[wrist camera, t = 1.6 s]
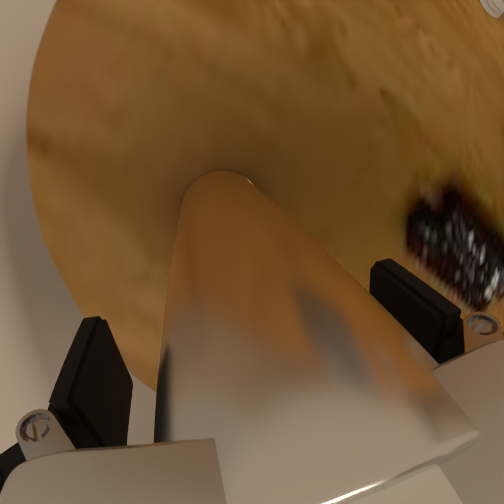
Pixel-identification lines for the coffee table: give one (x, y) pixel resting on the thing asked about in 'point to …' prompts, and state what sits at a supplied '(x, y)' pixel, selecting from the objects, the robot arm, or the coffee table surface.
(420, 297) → the robot arm
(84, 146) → the coffee table surface
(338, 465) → the silver metal cylinder
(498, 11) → the chalice
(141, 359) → the coffee table surface
